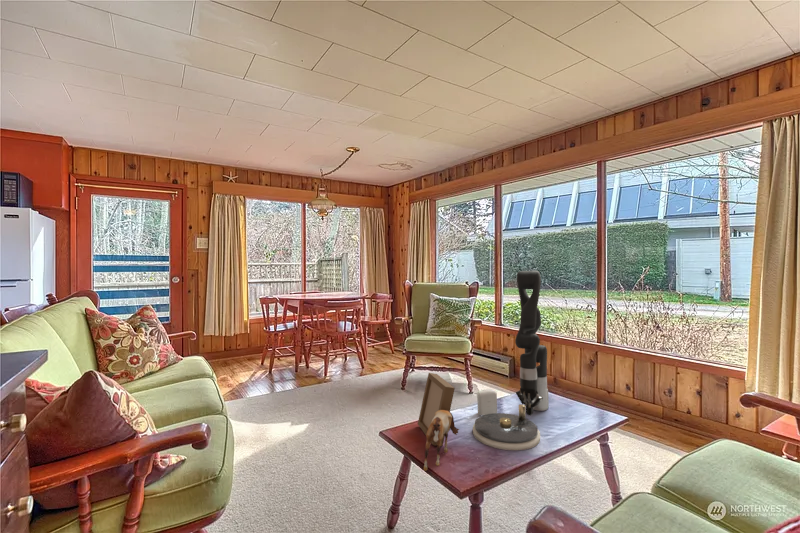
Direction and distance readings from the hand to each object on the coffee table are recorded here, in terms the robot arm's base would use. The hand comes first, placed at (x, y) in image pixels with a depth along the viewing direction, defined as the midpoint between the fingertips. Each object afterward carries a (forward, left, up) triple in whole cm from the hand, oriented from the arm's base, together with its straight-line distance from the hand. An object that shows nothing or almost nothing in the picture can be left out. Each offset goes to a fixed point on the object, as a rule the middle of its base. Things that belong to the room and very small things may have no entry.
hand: (529, 414), depth 169 cm
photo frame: (+38, -18, -7) cm, 42 cm away
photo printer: (+4, -24, -7) cm, 26 cm away
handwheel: (+13, -2, -5) cm, 14 cm away
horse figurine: (+48, +1, -7) cm, 49 cm away
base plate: (+13, -2, -7) cm, 15 cm away
